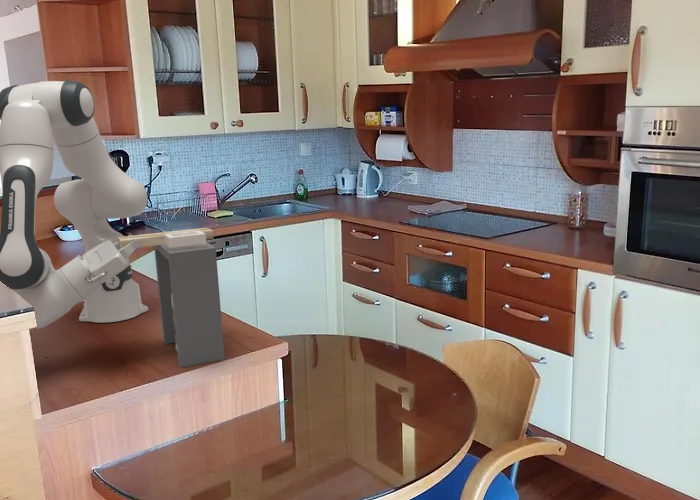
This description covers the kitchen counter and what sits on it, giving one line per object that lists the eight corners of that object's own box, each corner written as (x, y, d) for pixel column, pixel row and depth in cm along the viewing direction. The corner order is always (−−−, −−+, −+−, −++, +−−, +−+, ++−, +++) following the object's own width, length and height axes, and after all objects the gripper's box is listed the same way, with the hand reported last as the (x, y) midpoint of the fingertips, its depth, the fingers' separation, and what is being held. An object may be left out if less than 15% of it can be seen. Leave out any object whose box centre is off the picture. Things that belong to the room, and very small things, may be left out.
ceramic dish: (165, 247, 150) (163, 234, 149) (200, 242, 153) (199, 230, 153) (170, 251, 145) (169, 238, 144) (206, 247, 148) (205, 233, 147)
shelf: (163, 341, 165) (153, 239, 160) (203, 334, 170) (194, 234, 164) (180, 367, 148) (169, 253, 143) (224, 359, 152) (215, 247, 147)
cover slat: (118, 245, 154) (117, 237, 153) (208, 235, 162) (207, 227, 162) (121, 249, 149) (120, 240, 149) (213, 238, 158) (212, 230, 158)
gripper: (78, 274, 139) (134, 235, 142) (72, 257, 157) (121, 222, 160) (97, 297, 141) (152, 258, 145) (89, 277, 159) (137, 243, 163)
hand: (136, 239), depth 153 cm, fingers closed on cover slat, 5 cm apart
